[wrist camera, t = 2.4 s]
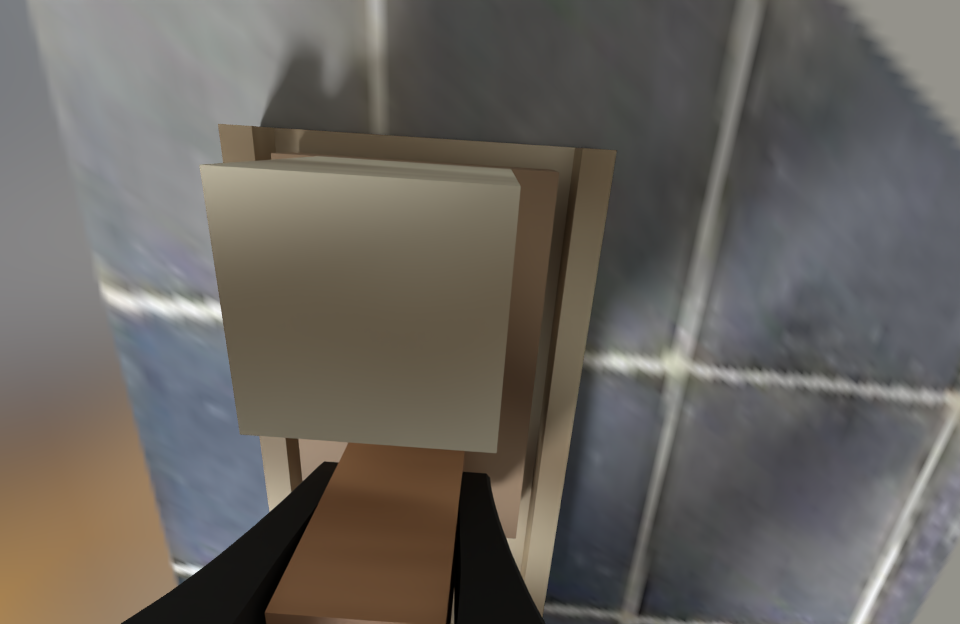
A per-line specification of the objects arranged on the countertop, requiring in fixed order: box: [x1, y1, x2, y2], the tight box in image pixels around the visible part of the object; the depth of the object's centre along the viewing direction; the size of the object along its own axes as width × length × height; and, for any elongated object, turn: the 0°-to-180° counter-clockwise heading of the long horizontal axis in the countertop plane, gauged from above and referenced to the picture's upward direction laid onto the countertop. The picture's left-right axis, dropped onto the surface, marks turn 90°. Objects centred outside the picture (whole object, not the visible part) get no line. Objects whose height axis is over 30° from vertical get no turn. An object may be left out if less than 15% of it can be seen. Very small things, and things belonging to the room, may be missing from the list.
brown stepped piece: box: [265, 152, 559, 624], centre depth 9 cm, size 10×6×6 cm, turn 177°
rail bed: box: [218, 124, 617, 624], centre depth 13 cm, size 17×8×2 cm, turn 177°
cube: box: [200, 156, 521, 453], centre depth 8 cm, size 4×4×4 cm
